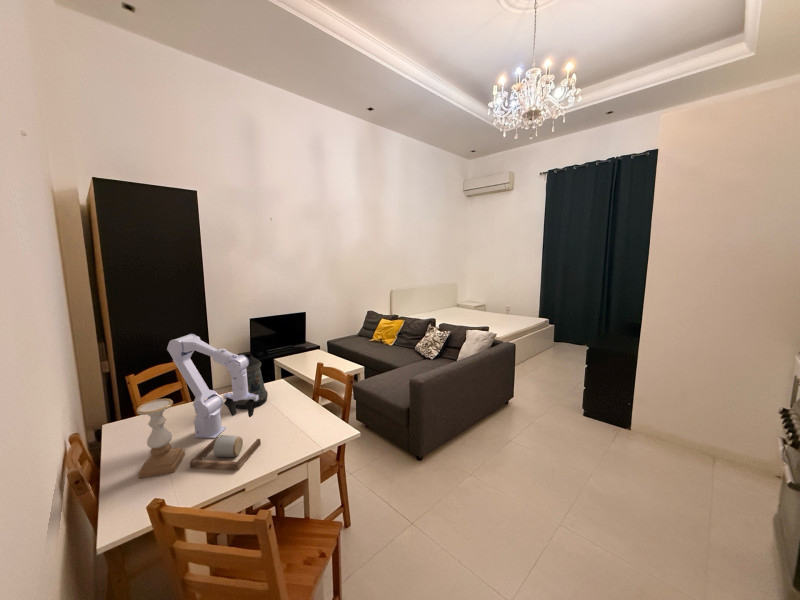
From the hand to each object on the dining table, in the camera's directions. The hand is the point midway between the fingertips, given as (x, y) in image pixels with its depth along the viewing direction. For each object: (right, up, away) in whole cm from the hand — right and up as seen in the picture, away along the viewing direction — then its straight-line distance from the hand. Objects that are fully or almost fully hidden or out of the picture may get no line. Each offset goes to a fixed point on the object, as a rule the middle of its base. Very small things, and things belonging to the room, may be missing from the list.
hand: (242, 415), depth 131 cm
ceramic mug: (0, -11, -9) cm, 15 cm away
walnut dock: (0, -11, -10) cm, 15 cm away
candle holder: (-21, -12, -17) cm, 29 cm away
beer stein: (-12, -5, +31) cm, 34 cm away
